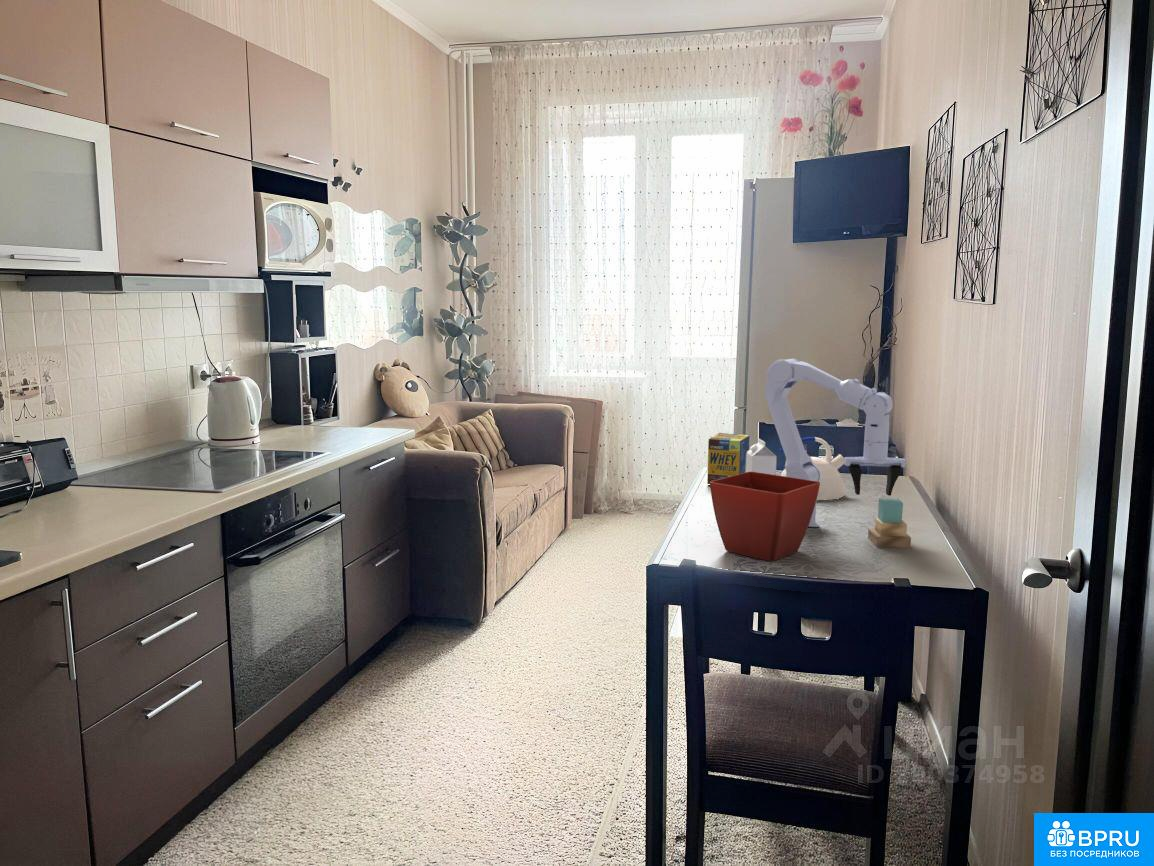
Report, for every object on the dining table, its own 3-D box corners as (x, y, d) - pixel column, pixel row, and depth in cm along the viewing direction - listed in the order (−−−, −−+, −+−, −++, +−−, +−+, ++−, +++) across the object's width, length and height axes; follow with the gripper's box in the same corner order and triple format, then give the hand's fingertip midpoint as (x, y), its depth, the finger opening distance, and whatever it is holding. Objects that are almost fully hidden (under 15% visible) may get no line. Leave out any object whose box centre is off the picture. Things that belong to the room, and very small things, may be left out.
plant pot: (819, 551, 201) (822, 480, 198) (779, 568, 187) (782, 493, 184) (748, 536, 213) (750, 470, 211) (705, 552, 199) (707, 481, 197)
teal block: (882, 522, 206) (883, 502, 205) (877, 518, 210) (878, 498, 210) (901, 522, 206) (902, 502, 205) (896, 518, 210) (897, 498, 209)
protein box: (706, 486, 276) (708, 438, 274) (718, 477, 290) (719, 432, 288) (738, 488, 272) (740, 440, 270) (748, 480, 286) (750, 434, 284)
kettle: (854, 501, 254) (857, 441, 252) (784, 501, 255) (786, 441, 252) (835, 487, 274) (837, 432, 272) (770, 487, 275) (772, 432, 272)
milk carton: (768, 502, 253) (770, 438, 250) (774, 507, 246) (777, 442, 243) (744, 502, 252) (746, 438, 250) (750, 507, 245) (752, 442, 243)
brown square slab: (876, 548, 205) (876, 536, 204) (867, 540, 213) (868, 528, 212) (910, 549, 204) (911, 537, 204) (900, 541, 212) (901, 529, 212)
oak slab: (880, 535, 205) (881, 523, 205) (874, 529, 211) (875, 517, 211) (906, 536, 205) (906, 524, 204) (899, 530, 211) (900, 518, 210)
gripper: (850, 442, 210) (847, 496, 212) (910, 444, 208) (907, 498, 210) (843, 438, 217) (840, 490, 219) (902, 440, 215) (899, 492, 217)
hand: (872, 494), depth 215 cm, fingers open, 7 cm apart
